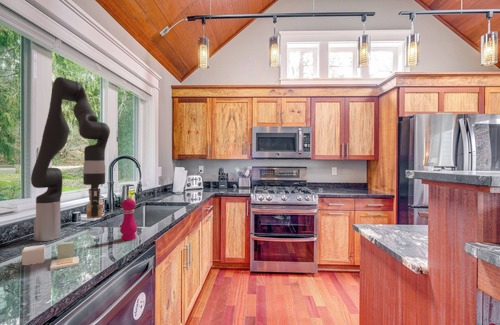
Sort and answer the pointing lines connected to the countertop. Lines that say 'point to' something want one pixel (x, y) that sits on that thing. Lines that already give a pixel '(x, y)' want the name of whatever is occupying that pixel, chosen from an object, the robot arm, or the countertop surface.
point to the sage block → (65, 250)
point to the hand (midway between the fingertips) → (94, 215)
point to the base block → (33, 255)
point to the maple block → (90, 211)
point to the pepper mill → (128, 220)
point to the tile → (64, 263)
